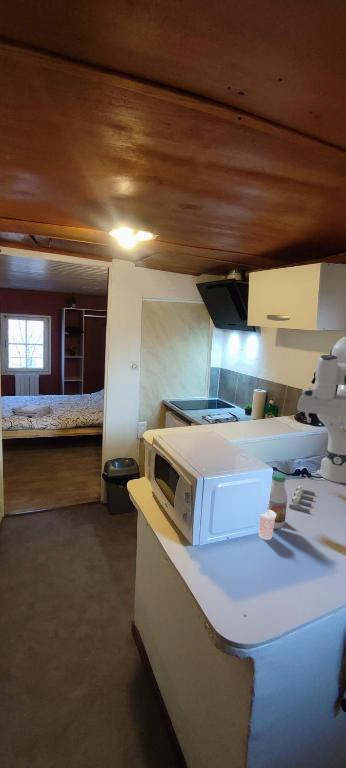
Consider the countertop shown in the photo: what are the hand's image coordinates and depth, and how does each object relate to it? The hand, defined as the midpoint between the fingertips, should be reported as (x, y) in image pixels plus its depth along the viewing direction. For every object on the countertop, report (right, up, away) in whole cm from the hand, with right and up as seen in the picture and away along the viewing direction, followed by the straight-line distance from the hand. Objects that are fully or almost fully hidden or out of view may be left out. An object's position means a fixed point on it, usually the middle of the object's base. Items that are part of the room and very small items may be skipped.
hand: (320, 424), depth 158 cm
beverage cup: (-31, -38, -26) cm, 55 cm away
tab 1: (-7, -33, +6) cm, 34 cm away
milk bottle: (-25, -37, -18) cm, 48 cm away
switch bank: (-8, -35, 0) cm, 36 cm away
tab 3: (-12, -34, -4) cm, 37 cm away
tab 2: (-10, -33, +1) cm, 35 cm away
